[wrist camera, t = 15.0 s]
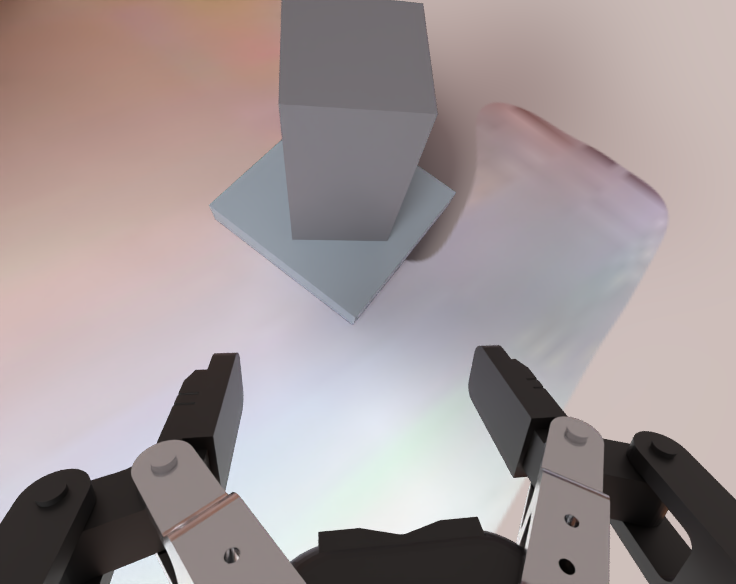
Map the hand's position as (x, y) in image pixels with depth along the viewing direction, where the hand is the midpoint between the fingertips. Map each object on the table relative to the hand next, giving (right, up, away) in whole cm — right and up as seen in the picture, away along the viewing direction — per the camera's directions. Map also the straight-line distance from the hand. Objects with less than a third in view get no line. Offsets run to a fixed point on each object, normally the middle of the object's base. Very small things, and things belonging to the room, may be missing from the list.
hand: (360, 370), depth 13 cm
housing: (-1, +8, +9) cm, 12 cm away
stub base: (-2, +7, +11) cm, 13 cm away
